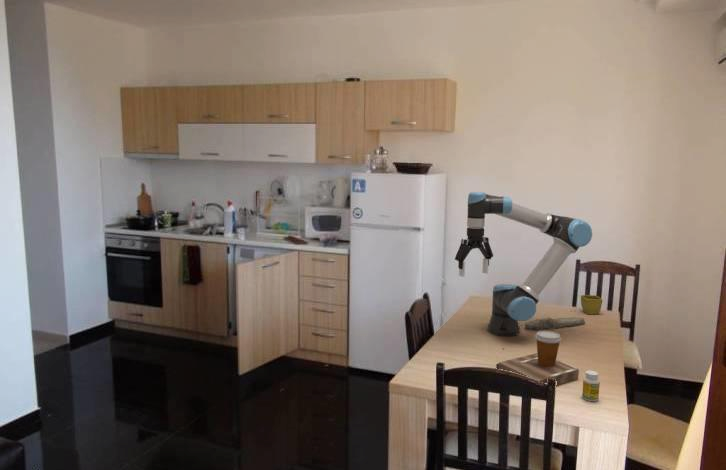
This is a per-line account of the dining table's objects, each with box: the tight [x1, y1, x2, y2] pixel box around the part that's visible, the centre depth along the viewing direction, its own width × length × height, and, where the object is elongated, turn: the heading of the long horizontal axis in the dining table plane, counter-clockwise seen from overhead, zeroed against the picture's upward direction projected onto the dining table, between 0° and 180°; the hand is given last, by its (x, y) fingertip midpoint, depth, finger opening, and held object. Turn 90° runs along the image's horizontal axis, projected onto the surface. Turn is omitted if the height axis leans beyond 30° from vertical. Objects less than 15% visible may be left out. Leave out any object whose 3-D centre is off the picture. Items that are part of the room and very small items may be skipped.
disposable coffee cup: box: [534, 330, 562, 367], centre depth 211 cm, size 10×10×12 cm
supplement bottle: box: [581, 370, 601, 402], centre depth 191 cm, size 5×5×10 cm
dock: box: [495, 352, 580, 387], centre depth 211 cm, size 22×21×4 cm
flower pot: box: [580, 294, 603, 315], centre depth 294 cm, size 9×9×9 cm
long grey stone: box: [524, 316, 586, 331], centre depth 273 cm, size 35×5×10 cm
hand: (473, 274), depth 242 cm, fingers open, 13 cm apart
